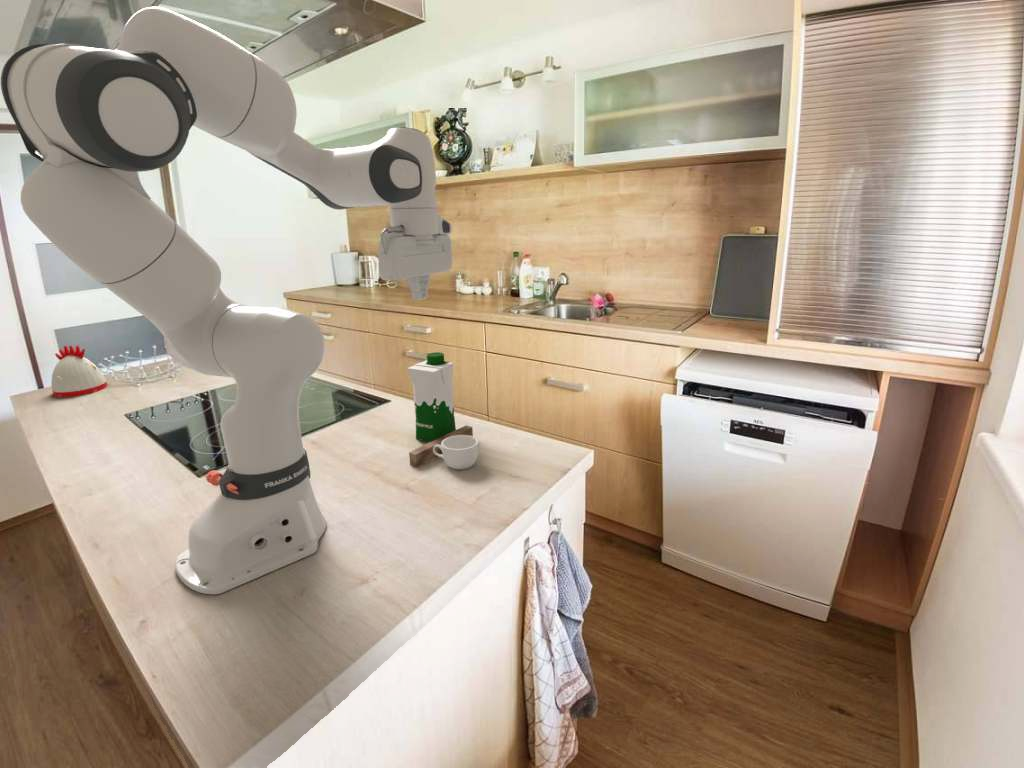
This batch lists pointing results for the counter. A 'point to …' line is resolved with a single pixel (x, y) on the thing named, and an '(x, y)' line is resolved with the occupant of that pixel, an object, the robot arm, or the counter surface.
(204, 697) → the counter surface
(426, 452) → the strip
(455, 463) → the teacup
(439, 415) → the milk carton
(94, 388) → the crested hat
